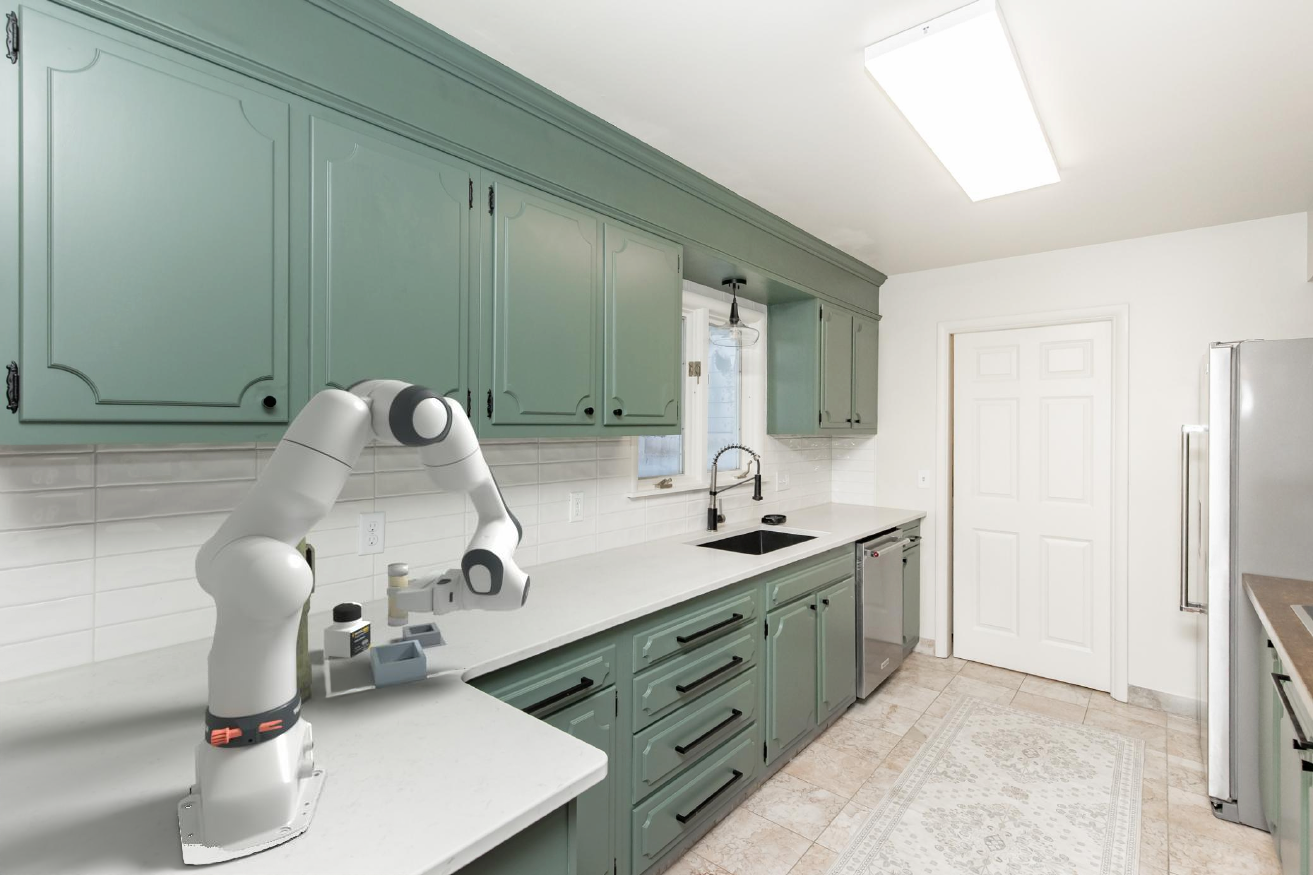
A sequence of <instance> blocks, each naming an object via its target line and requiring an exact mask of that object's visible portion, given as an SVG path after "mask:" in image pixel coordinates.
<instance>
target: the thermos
mask: <svg viewBox="0 0 1313 875" xmlns="http://www.w3.org/2000/svg"><path fill="white" fill-rule="evenodd" d="M306 540H307V539H306V536H305V537H304V538H303V539H302V540H301V542H300V543H299V544H298V545H297V547H296V548H295V549H296V550H298V551H299V552H300V553H301V554H302V556H303V557H304V559H305V560H306V561H307V563H308V565H309V567H310V568H311V571H312V574H313V586H312V590H311V593H310V595H309V597H308V599H307V600H306V602H305V603H304V605H303V610H302V614H301V619H300V624H299V629H298V635H297V643H296V682H297V688H298V689H299V691H300V697H301V705H302V704H303V703H305V702H308V701H309V699H310V698H311V697H312V691H311V689H312V688H311V686H312V683H313V682H312V680H313V679H312V678H313V677H312V676H313V673H312V672H313V671H312V670H313V669H312V668H313V666H312V660H311V659H310V656H309V621H308V620H309V618H308V615H309V613H310V610H311V598H312V594H314V593H315V589H316V564H315V563H316V562H315V560H316V559H315V557H316V556H315V554H316V553H315V552H316V551H315V548H314V547H313V545H312V544H311V543H307V541H306Z"/></svg>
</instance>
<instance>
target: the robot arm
mask: <svg viewBox="0 0 1313 875" xmlns="http://www.w3.org/2000/svg"><path fill="white" fill-rule="evenodd" d="M295 417H296V418H294V419H293V421H292V422H291V424H290V425H289V427H288V428H287V430H286V431H285V433H284V434H283V437H282V438H281V440H280V442H279V443H278V445H277V446H276V448H275V449H274V451H273V453H272V455H270V456H271V457H270V458H269V460H268V461H267V463H266V465H265V466H264V468H263V470H262V471H261V473H260V475H259V476H258V478H257V480H256V481H255V483H254V484H253V486H252V487H251V488H250V490H249V491H248V492H247V494H246V495H245V496H244V498H242V500H241V501H240V502H239V503H238V505H237V506H236V507H235V508H234V510H233V511H232V512H231V513H230V514H229V516H228V517H227V518H226V519H225V520H224V521H223V523H222V524H221V525H220V527H219V528H218V529H217V530H216V532H215V533H214V534H213V535H212V537H210V538H209V539H207V540H206V541H205V542H204V544H202V546H201V547H200V548H199V550H198V552H197V554H196V556H195V561H194V570H195V576H196V580H197V583H198V584H199V586H200V588H201V589H202V590H203V591H204V592H205V593H207V594H208V595H209V596H211V597H212V598H213V600H214V603H215V606H216V618H215V619H216V621H215V628H214V635H213V640H212V645H211V648H210V650H209V652H208V654H207V689H208V691H207V694H208V696H207V697H208V705H207V707H206V709H205V715H204V721H203V728H204V739H203V740H202V741H201V742H200V743H199V744H198V745H197V746H195V748H194V764H195V766H194V769H195V774H194V775H195V783H194V784H191V785H190V787H189V795H188V796H186V797H184V798H183V799H181V800H180V801H179V802H177V808H178V815H179V822H180V830H181V837H182V843H183V844H188V846H189V844H202V845H200V846H205V847H207V848H209V847H210V848H211V847H214V846H215V847H218V846H219V847H218V848H220V849H221V848H223V849H222V850H224V851H227V852H228V851H230V852H231V851H232V852H233V851H234V852H235V851H239V850H244V849H246V848H250V847H254V846H259V845H261V844H265V843H269V842H272V841H275V840H278V839H281V838H285V837H286V836H289V835H291V834H293V833H295V832H297V831H299V830H300V829H303V828H304V827H305V826H307V824H308V823H309V820H310V818H311V815H312V812H313V810H314V807H315V804H316V801H317V798H318V796H319V793H320V790H321V788H322V789H323V787H322V785H323V786H324V784H323V782H324V783H325V781H324V779H325V780H326V778H325V776H326V777H327V775H328V769H327V766H325V765H323V764H316V763H315V760H314V758H313V757H314V756H313V749H314V740H313V738H312V737H313V736H312V723H310V722H308V721H306V720H305V719H303V718H302V716H301V713H302V712H301V706H302V704H301V697H300V691H299V689H298V688H297V682H296V643H297V635H298V629H299V624H300V619H301V614H302V610H303V605H304V603H305V602H306V600H307V599H308V597H309V595H310V593H311V590H312V586H313V574H312V571H311V568H310V567H309V565H308V563H307V561H306V560H305V559H304V557H303V556H302V554H301V553H300V552H299V551H298V550H296V549H295V548H296V547H297V545H298V544H299V543H300V542H301V540H302V539H303V538H304V537H305V538H306V535H307V534H308V533H309V532H310V531H311V530H312V529H313V528H314V527H315V526H316V525H317V524H318V523H320V521H321V520H323V519H324V518H326V517H327V516H328V514H330V512H331V510H332V508H333V507H334V505H335V503H336V501H337V499H338V497H339V496H340V493H341V492H342V490H343V488H344V486H345V483H346V482H347V480H348V479H349V477H350V475H351V473H352V471H353V470H354V468H355V465H356V463H357V461H358V459H359V457H360V454H361V452H362V451H363V449H364V448H365V447H366V446H367V445H368V444H370V443H371V441H373V440H377V441H378V442H381V443H384V444H390V445H395V446H406V447H409V448H417V452H418V455H419V458H420V461H421V463H422V464H421V465H423V469H424V472H425V473H426V475H427V478H428V479H429V481H430V483H431V484H432V486H433V487H434V488H435V489H437V490H439V491H441V492H443V493H447V494H452V495H453V494H454V495H455V494H463V493H468V495H469V497H470V500H471V502H472V504H473V507H474V508H475V510H476V513H477V515H478V516H477V517H478V521H477V526H476V529H475V532H474V534H473V536H472V538H471V540H470V542H469V543H468V545H467V547H466V549H465V551H464V553H463V555H462V558H461V562H460V567H461V568H449V569H433V570H431V571H428V572H427V573H425V574H424V575H422V576H421V577H415V578H410V579H409V578H408V586H406V587H403V588H399V587H398V586H391V587H389V588H388V587H387V589H386V596H387V597H388V596H395V607H396V609H398V610H400V611H407V612H408V613H422V614H424V613H425V614H426V613H432V612H433V616H444V615H447V614H450V613H452V612H459V611H474V610H482V611H484V612H509V611H511V612H512V611H516V610H519V609H522V608H523V607H524V606H525V604H526V601H527V599H528V595H529V591H530V588H531V587H530V585H531V578H530V575H529V574H528V573H525V572H523V571H522V570H521V569H520V568H519V567H518V565H517V564H516V562H515V561H514V559H513V557H514V554H515V552H516V549H517V548H518V546H519V544H520V543H521V541H522V538H523V528H522V525H521V522H520V521H519V520H518V519H517V518H516V516H515V515H514V513H512V511H511V510H510V509H509V507H508V506H507V504H506V501H505V499H504V497H503V495H502V492H501V489H500V487H499V485H498V482H497V480H496V477H495V476H494V474H493V472H492V469H491V468H490V465H489V464H488V463H487V461H486V460H485V459H484V455H483V452H482V449H481V447H480V443H479V441H478V438H477V436H476V435H477V434H476V432H475V431H474V428H473V426H472V423H471V421H470V419H469V418H468V416H467V414H466V412H465V410H464V409H463V407H462V405H461V404H460V403H459V402H458V400H456V399H454V398H451V397H447V396H442V395H441V394H440V393H439V392H438V391H436V390H435V389H432V388H430V387H428V386H425V385H420V384H412V383H409V382H404V381H401V380H395V379H377V378H366V379H361V380H359V381H358V380H357V381H355V382H352V383H351V384H350V385H348V386H347V387H345V389H343V390H342V389H334V388H332V389H331V388H329V389H325V390H321V391H319V392H318V393H316V394H315V395H314V396H313V397H312V398H311V399H310V400H309V401H308V402H307V404H305V406H304V407H303V408H302V410H301V411H300V412H299V413H298V414H297V416H295ZM326 774H327V775H326ZM321 791H322V790H321ZM320 794H321V793H320ZM319 797H320V796H319ZM190 806H191V807H190ZM186 807H190V808H186ZM178 815H177V816H178ZM283 831H287V833H285V834H280V833H281V832H283ZM191 835H192V836H191ZM189 836H190V837H189ZM184 846H185V845H184ZM190 846H192V845H190ZM194 846H195V845H194ZM220 849H219V850H220ZM230 852H229V853H230Z"/></svg>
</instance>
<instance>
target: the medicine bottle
mask: <svg viewBox="0 0 1313 875" xmlns="http://www.w3.org/2000/svg"><path fill="white" fill-rule="evenodd" d="M362 608H363V605H362V604H361V603H360V602H359V603H358V602H355V601H351V602H350V601H348V602H343V603H339V604H337V605H335V606H334V607H333V609H332V625H330V626H328V627H326V628H324V629H323V631H324V632H323V637H324V638H323V640H324V641H323V645H324V646H323V647H324V650H323V651H324V653H323V654H324V655H323V656H324V657H323V658H324V660H330V657H338V658H346V659H352V658H355V657H356V656H357V655H359V654H361V653H363V652H364V651H366V650H368V649H370V647H372V645H371V644H372V642H371V640H372V639H371V621H365V620H363V616H362V615H363V611H362V610H363V609H362Z"/></svg>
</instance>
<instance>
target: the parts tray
mask: <svg viewBox="0 0 1313 875" xmlns="http://www.w3.org/2000/svg"><path fill="white" fill-rule="evenodd" d="M369 649H370V650H369V651H370V653H369V654H370V655H369V656H370V658H369V660H370V667H371V671H372V674H373V678H374V687H375V689H379V688H384V687H385V688H386V687H390V686H395V685H401V684H406V683H409V682H410V683H411V682H416V681H421V680H425V679H426V680H427V657H426V654H425V652H424V649H422V648H421V645H420V643H419V641H418V640H412V641H406V642H400V643H398V642H394V643H389V644H382V645H376V646H371V647H370V648H369Z"/></svg>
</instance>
